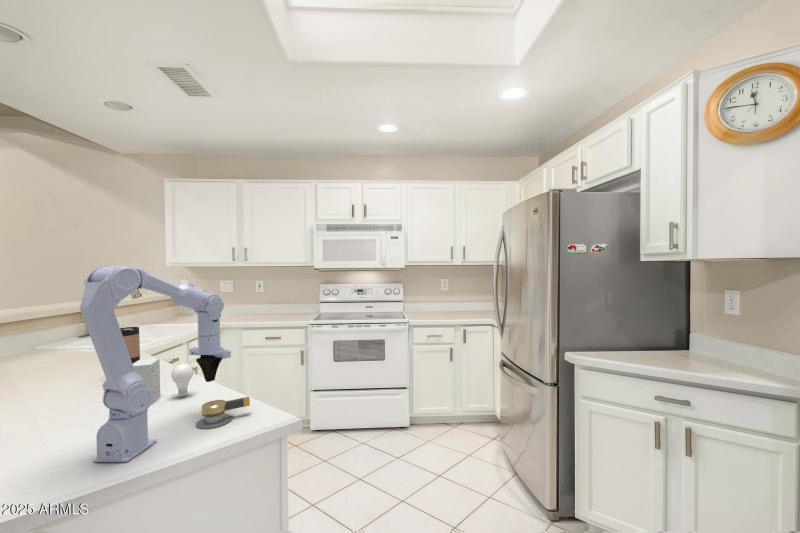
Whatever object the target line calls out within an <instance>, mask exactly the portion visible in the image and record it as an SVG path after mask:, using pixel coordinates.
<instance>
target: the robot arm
mask: <svg viewBox="0 0 800 533" xmlns="http://www.w3.org/2000/svg"><path fill="white" fill-rule="evenodd" d="M83 282H84V286H85V288H84V291H83V294H82V299H81V303H80V306H79V309H80V312H81V316H82V318H83V321H84V323H85V327H86V329H87V331H88V334H89V337H90V339H91V342H92V345H93V347H94V351H95V353H96V355H97V358H98V361H99V363H100V366H101V368H102V371H103V373H104V376H105V381H104V382H103V383H102V388H103V396H102V403H103V405H104V406H105V408H107V409H108V412H109V413H108V419H107V421H106V422H105V423H104V424H102V425H101V426H100V427H99V428H98V430H97V432H96V457H95V458H94V459H93V463H127V462H129V461H130V460H132V459H134V458H135V457H136V456H138V455H139V454H141V453H142V452H144V451H145V450H146V449H149V447H151V446H153V445H154V444H155V443H157V442H158V439H154V438H152V439H151V438H150V439H149V433H148V432H149V431H148V430H149V429H148V427H149V425H148V424H149V422H148V419H149V418H148V411H149V408H150V407H151V406H152V404H151V403H152V401H153V397H154V395H153V391H152V390H151V389H150V388H149V387H147V386H146V384H145V382H144V380H143V378H142V377H141V376H140V375H138V374H137V373H136V372H135V370H134V367H133V364H132V361H131V358H130V355H129V353H128V350H127V347H126V344H125V341H124V338H123V335H122V333H121V330H120V328H121V327H120V325H119V322H118V319H117V315H116V313H115V309H116V308H117V306H118V305H119V304H120V303H121V301H123V300H124V299H125V298H126V297H128V296H129V295H130V294H132V293H133V292H135V291H136V290H137V289H140V290H141V289H145V290H148V291H152V292H155V293H158V294H161V295H165V296H167V297H170V298H171V300H172V302H173V303H174V304H176V305H179V306H181V307H185V308H188V309H191V310H193V312H195V313H196V314H197V340H198V341H197V343H198V344H197V345H198V347H191V348H188V350H189V351H188V355H189V356H199V357H198V358H196V360H195V361H196V363H197V364H198V365H199V367H200V369H201V372H202V374H203V376H204V377H203V378H204V380H205V383H210V382H212V381H213V382H214V381H215V380H216V375H217V372H218V368H219V366H220V364H221V362H222V360H223V359H224V360H225V359H230V358H231V357H232V356H231V355H232V353H231V350H229V349H225V348H224V347H223V346H221V317H222V311H223V310H224V307H225V302H224V301H223V299H222V298H221V296H220V295H219V294H209V292H208V290H206V289H205V290H204V289H202V290H201V289H199V288H196V287H194V285H195V284H192V283H188V282H187V283H181V284H179V285H177V284H175V283H172V282H171V281H169V280H166V279H164V278H161V277H159V276H157V275H154V274H153V273H150V272H148V271H146V270H144V269H140V268H135V267H134V266H131V265H120V266H107V265H105V266H104V265H103V266H99V267H96V268H94V269H92V271H91V272H90V273H89V274H88V276H86V278H85V279H83Z"/></svg>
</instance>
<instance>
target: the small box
mask: <svg viewBox="0 0 800 533" xmlns="http://www.w3.org/2000/svg"><path fill="white" fill-rule="evenodd" d="M133 367H134V370H135V372H136V373H137V374H138V375H140V376H141V377H142V378H143V380H144V382H145V384H146V386H147V387H149V388H150V389H151V390H152V391H153V395H154V397H153V401H152V403H151V405H153V404H154V403H155V402H156V401H157V399H159V398H160V397H161V369H160V367H161V366H160V358H147V359H140V360H138V361H136V362H135V363H133Z"/></svg>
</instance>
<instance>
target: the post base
mask: <svg viewBox="0 0 800 533" xmlns="http://www.w3.org/2000/svg"><path fill="white" fill-rule="evenodd" d="M233 416H235V414H234V413H233V414H229V413H223V414H221V415H218V416H214V417H202V418H200V419H199V420H198V421H197V422H195V427H196V428H197V429H199V430H212V429H216V428H220V427H223V426H226V425H227V424H230V423H231V422H232V420H233Z"/></svg>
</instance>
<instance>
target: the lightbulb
mask: <svg viewBox="0 0 800 533" xmlns="http://www.w3.org/2000/svg"><path fill="white" fill-rule="evenodd" d="M194 372H195V371H194V369H193V366H191V365H190V364H188V363H182V364H178V365H175V367H174V368H173V369H172V370H171V374H170V375H171V379H172V381H173V382H174V384H176V388H177V390H178V391H177V392H178V394H177V395H178V397H180V398H184V397H186V396H188V394H189V393H188V387H189V384H190V381H191V380H192V379H193V376H194Z"/></svg>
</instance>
